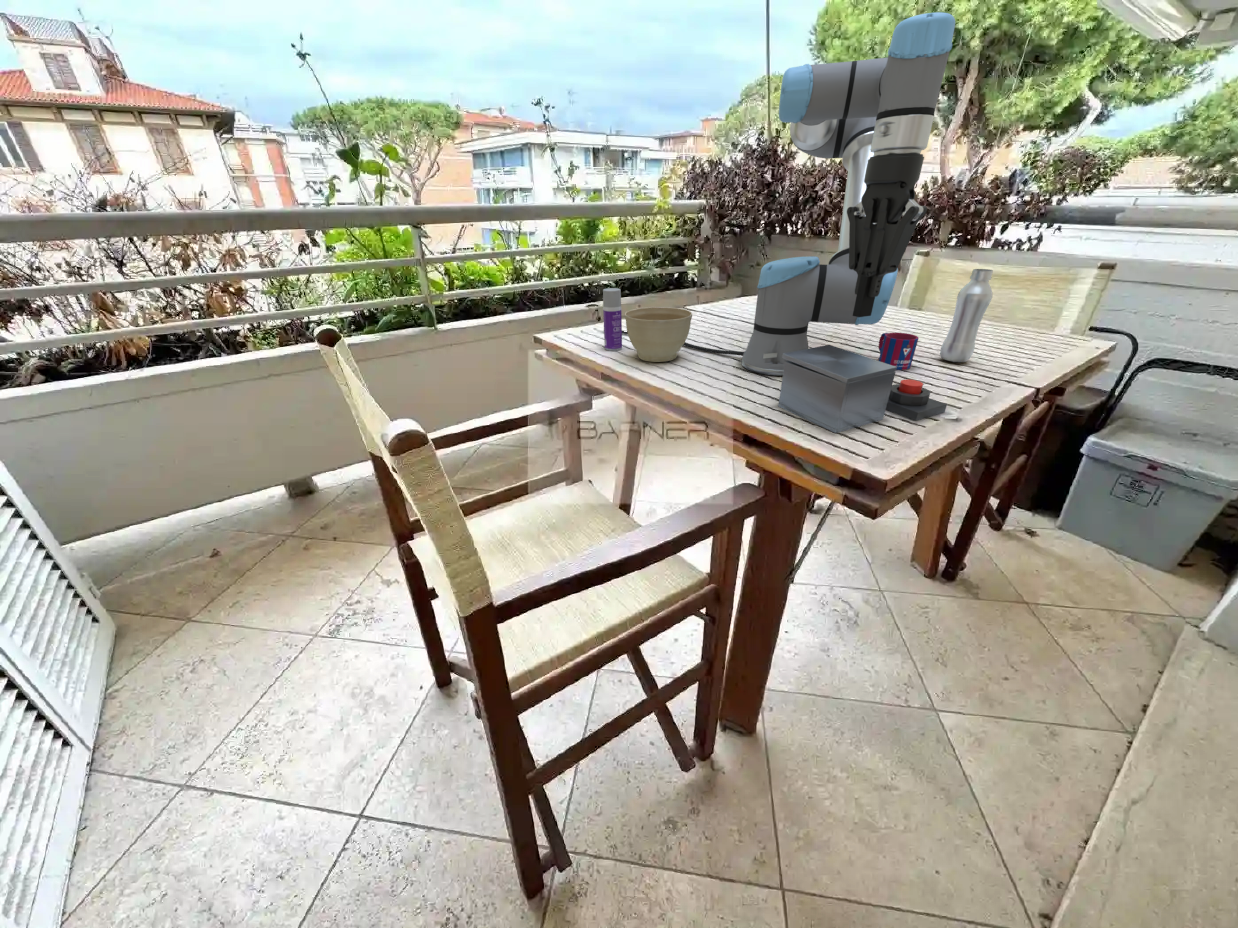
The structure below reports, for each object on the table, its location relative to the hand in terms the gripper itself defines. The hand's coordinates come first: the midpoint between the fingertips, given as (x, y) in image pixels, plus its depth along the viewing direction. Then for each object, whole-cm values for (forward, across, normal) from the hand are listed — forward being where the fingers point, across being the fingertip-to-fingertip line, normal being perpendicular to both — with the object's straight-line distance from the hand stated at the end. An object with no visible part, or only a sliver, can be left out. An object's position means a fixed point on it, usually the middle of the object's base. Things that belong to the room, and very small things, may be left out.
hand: (861, 315), depth 83 cm
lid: (+8, +1, -5) cm, 9 cm away
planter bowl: (+16, -44, -16) cm, 50 cm away
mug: (+16, -14, +29) cm, 36 cm away
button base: (+17, +6, +9) cm, 20 cm away
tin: (+17, +2, -5) cm, 17 cm away
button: (+13, +6, +9) cm, 17 cm away
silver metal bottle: (+16, -9, +44) cm, 47 cm away
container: (+16, -57, -22) cm, 63 cm away
